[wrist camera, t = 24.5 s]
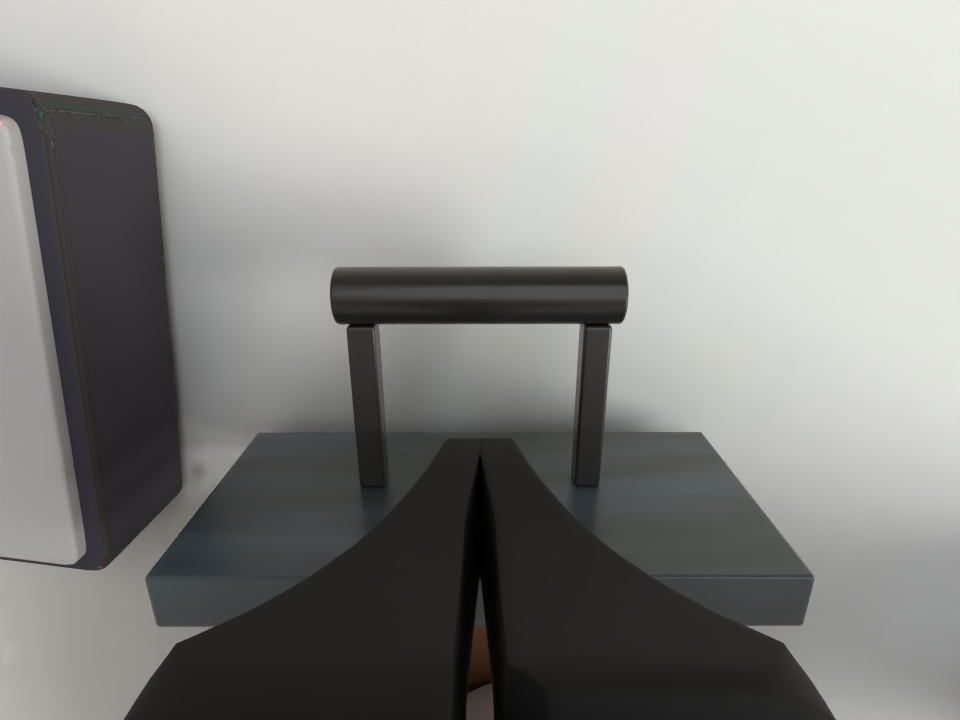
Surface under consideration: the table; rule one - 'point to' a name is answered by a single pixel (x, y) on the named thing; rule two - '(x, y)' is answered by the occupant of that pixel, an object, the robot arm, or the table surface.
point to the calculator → (81, 332)
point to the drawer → (553, 455)
